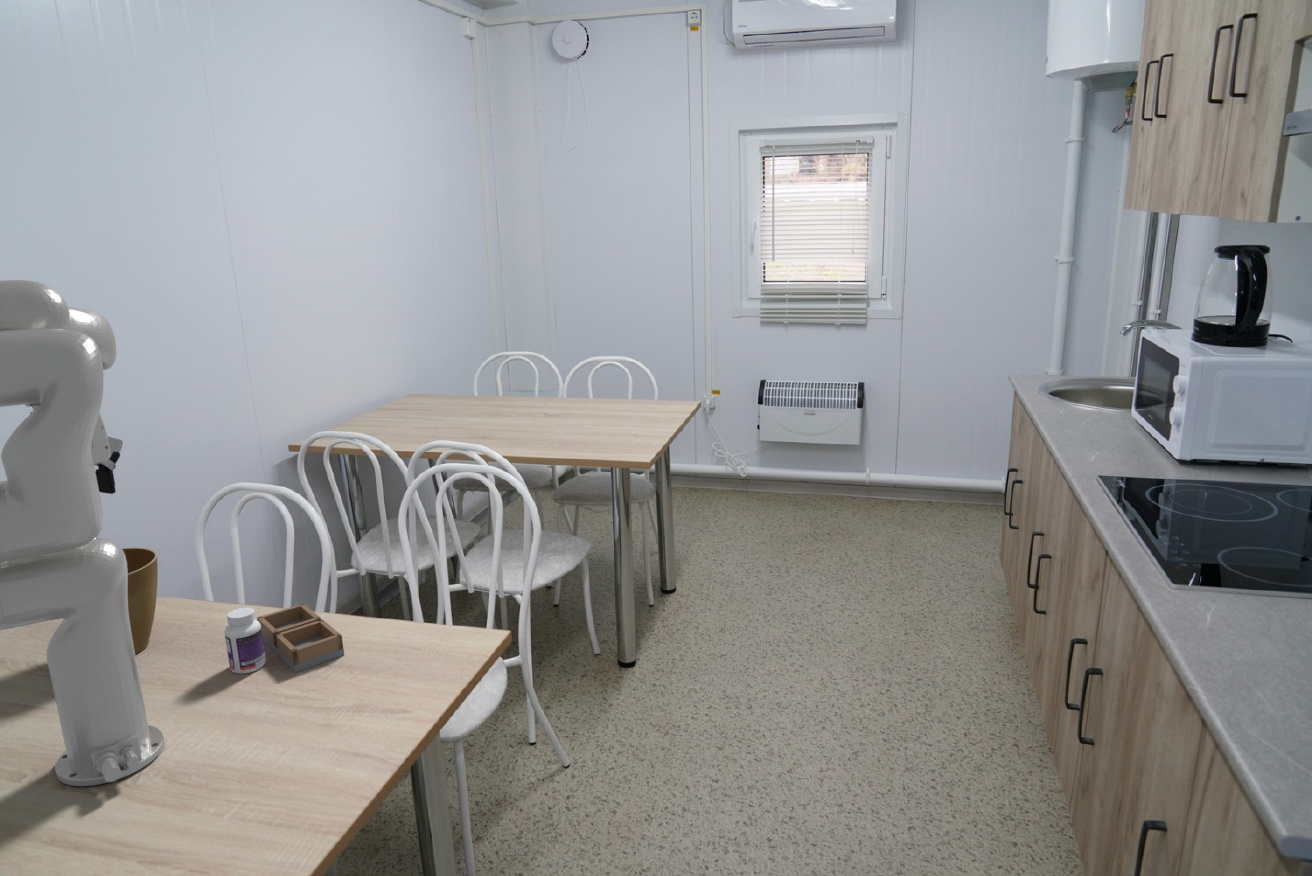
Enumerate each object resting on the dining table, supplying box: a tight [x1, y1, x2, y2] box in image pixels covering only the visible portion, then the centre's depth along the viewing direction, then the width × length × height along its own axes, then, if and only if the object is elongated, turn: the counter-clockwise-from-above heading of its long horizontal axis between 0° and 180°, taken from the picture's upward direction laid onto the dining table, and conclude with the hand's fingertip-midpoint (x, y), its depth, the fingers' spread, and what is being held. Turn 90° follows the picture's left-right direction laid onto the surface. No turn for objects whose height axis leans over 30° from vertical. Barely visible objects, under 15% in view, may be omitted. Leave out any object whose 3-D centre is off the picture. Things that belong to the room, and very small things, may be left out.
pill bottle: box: [224, 607, 267, 675], centre depth 138 cm, size 5×5×10 cm
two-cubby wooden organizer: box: [256, 603, 345, 673], centre depth 145 cm, size 17×8×4 cm, turn 43°
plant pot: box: [121, 547, 159, 655], centre depth 143 cm, size 15×15×16 cm
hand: (79, 501), depth 138 cm, fingers open, 9 cm apart
